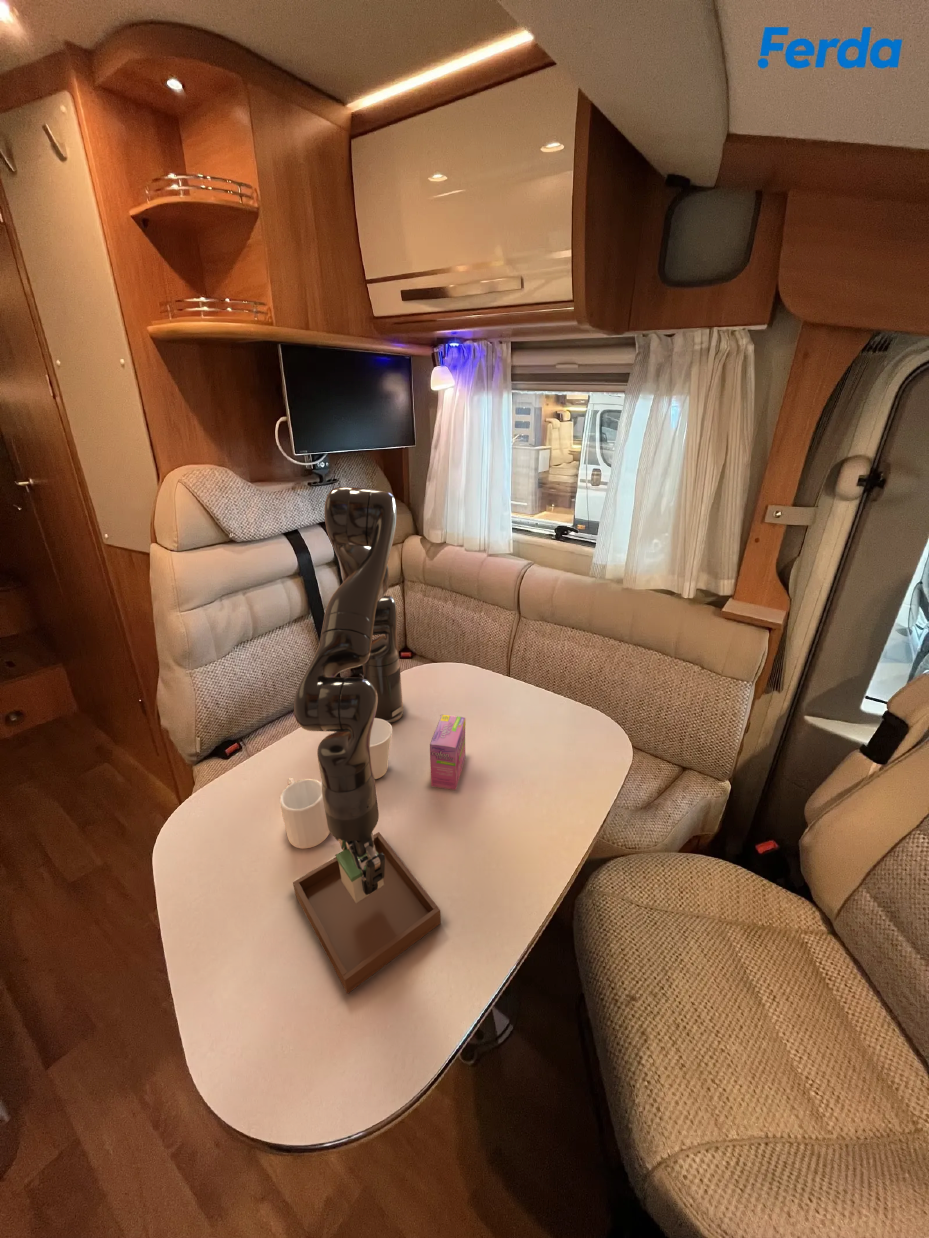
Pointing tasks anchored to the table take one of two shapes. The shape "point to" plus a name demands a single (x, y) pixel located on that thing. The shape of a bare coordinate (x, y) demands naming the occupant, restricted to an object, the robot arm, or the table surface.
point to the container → (352, 875)
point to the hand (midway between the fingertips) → (361, 876)
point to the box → (447, 752)
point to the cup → (380, 746)
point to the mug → (304, 813)
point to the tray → (366, 916)
